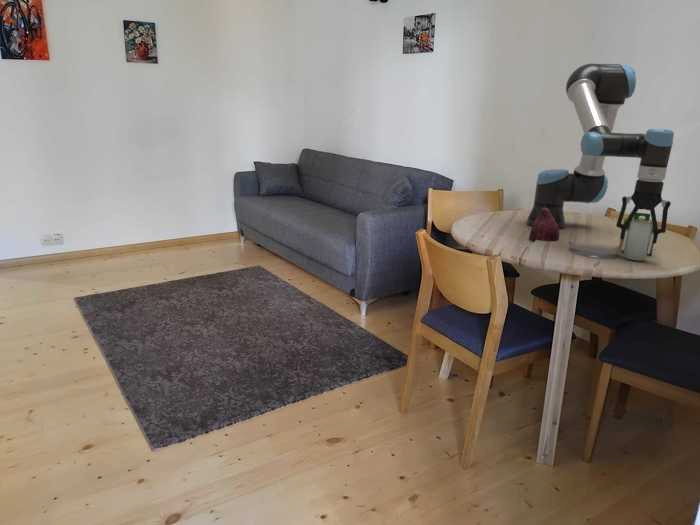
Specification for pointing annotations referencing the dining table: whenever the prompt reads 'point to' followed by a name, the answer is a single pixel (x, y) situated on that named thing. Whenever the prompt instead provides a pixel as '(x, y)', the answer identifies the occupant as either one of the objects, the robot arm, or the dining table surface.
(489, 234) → the dining table surface
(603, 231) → the dining table surface
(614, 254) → the dish
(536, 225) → the vegetable
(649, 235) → the grey-green rectangular block
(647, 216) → the chalk box
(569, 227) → the dining table surface
